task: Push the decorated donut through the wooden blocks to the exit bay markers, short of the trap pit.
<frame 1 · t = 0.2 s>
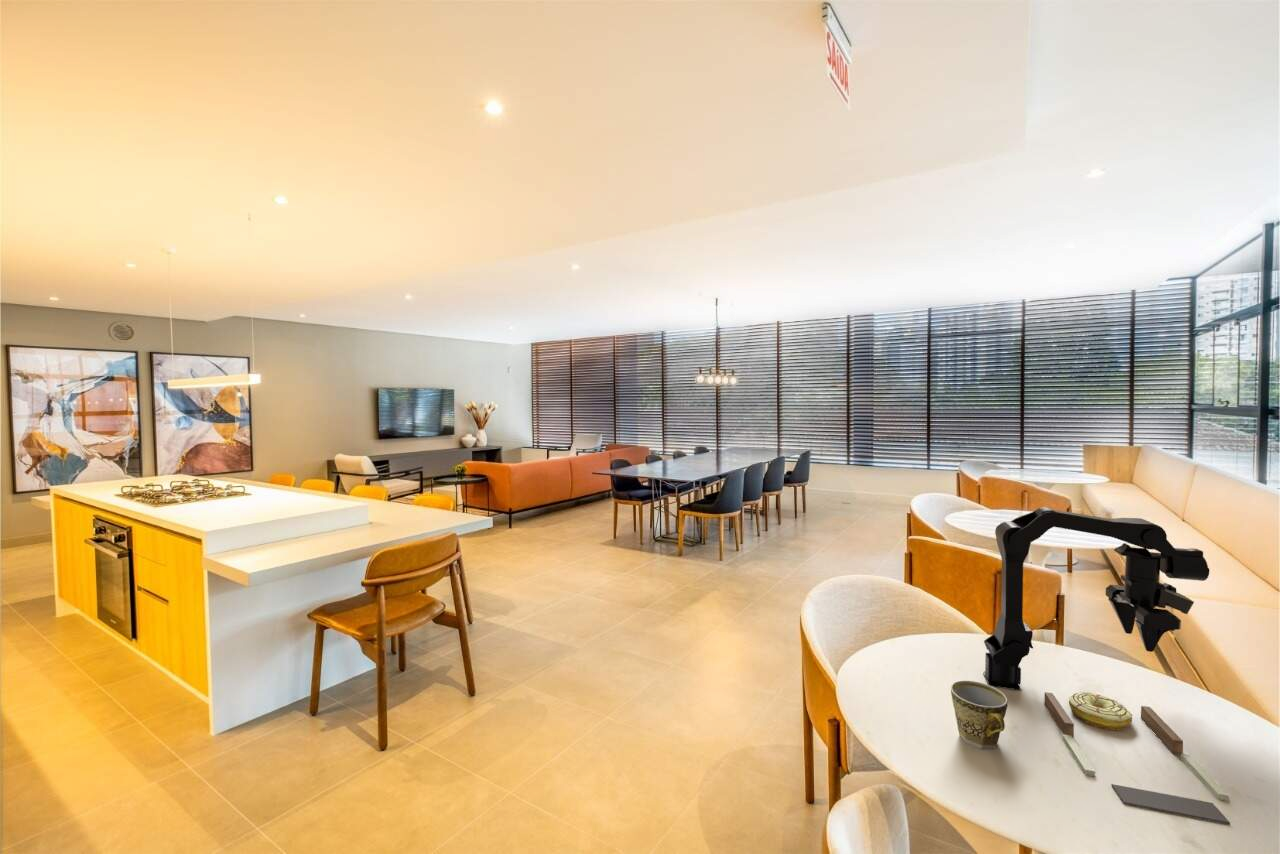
hand: (1138, 642, 122), 14 cm above the table, tool pointing down, fingers open, 9 cm apart
ceramic cup: (982, 745, 110), on the table
decorated donut: (1099, 719, 117), on the table
exit bay markers: (1138, 767, 102), on the table
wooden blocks: (1108, 728, 114), on the table
trap pit: (1167, 804, 93), on the table
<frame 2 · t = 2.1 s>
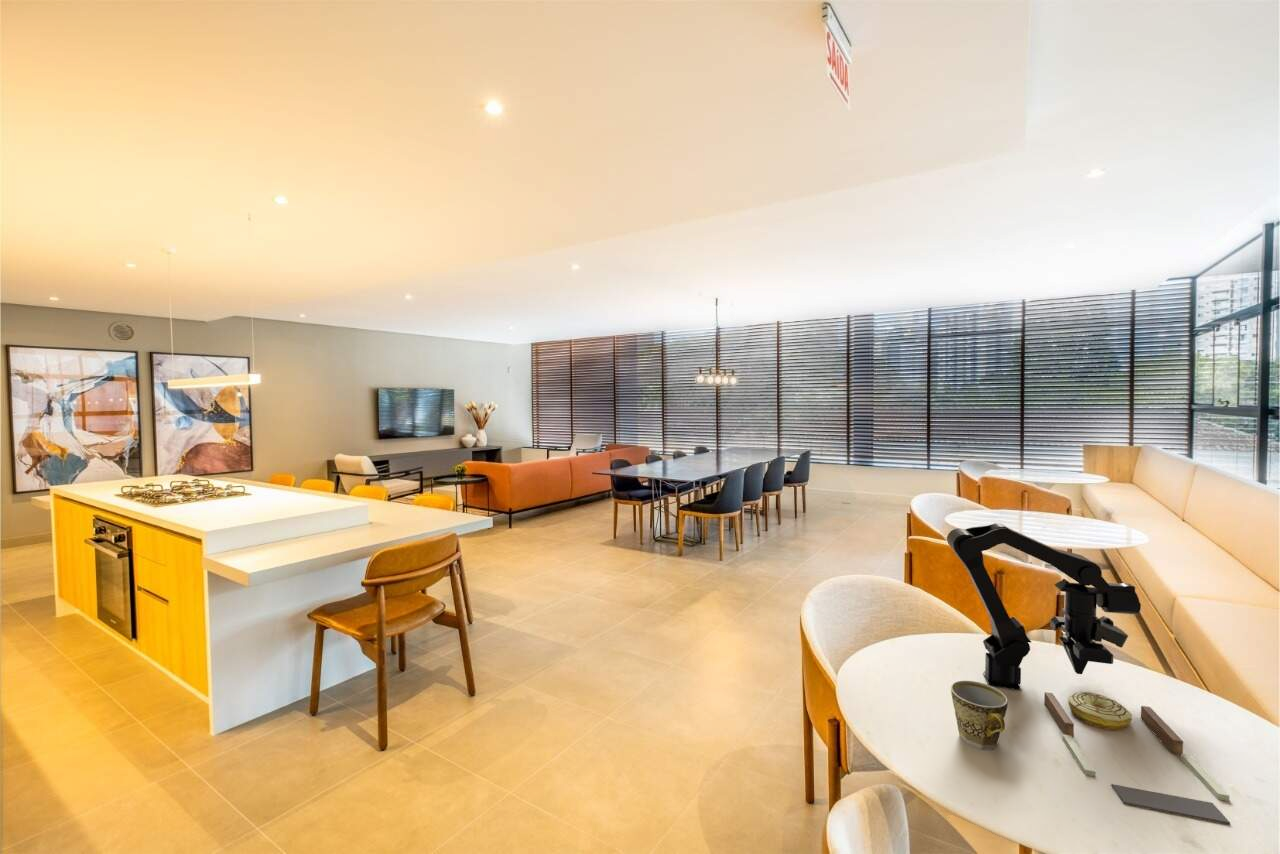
hand: (1078, 673, 127), 4 cm above the table, tool pointing down, fingers closed
nothing on the table moved.
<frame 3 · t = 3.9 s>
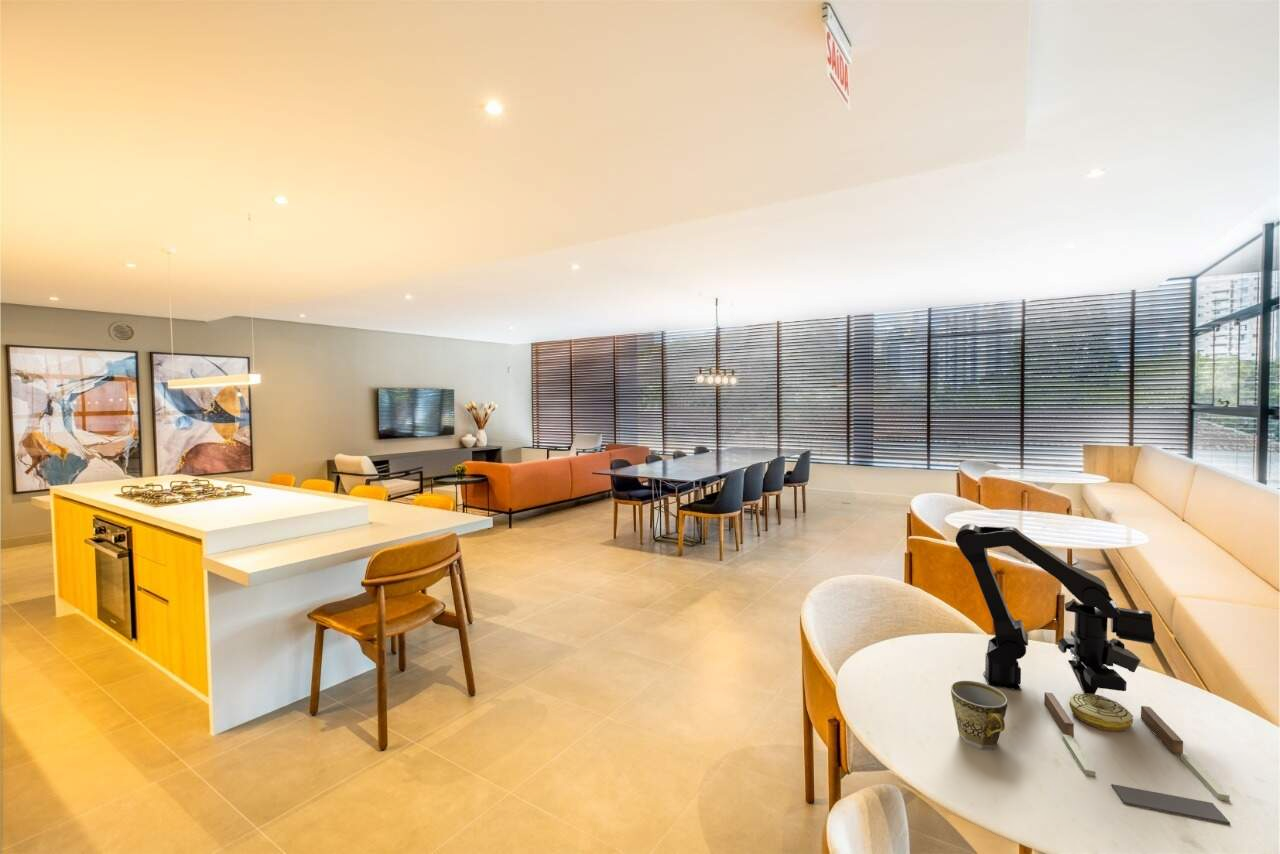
hand: (1088, 698, 123), 1 cm above the table, tool pointing down, fingers closed
nothing on the table moved.
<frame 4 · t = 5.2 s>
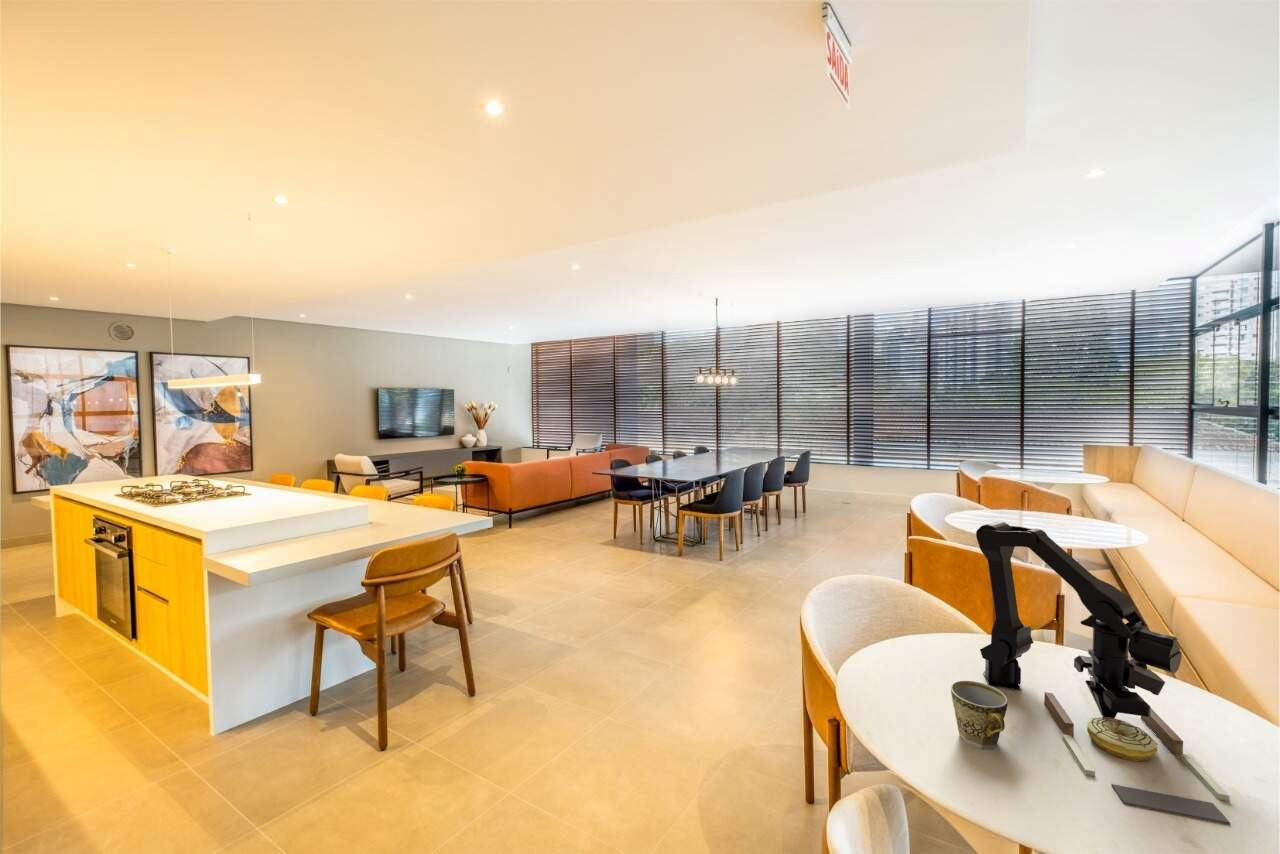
hand: (1108, 722, 114), 1 cm above the table, tool pointing down, fingers closed
decorated donut: (1120, 747, 108), on the table, touching gripper
everything else where it was.
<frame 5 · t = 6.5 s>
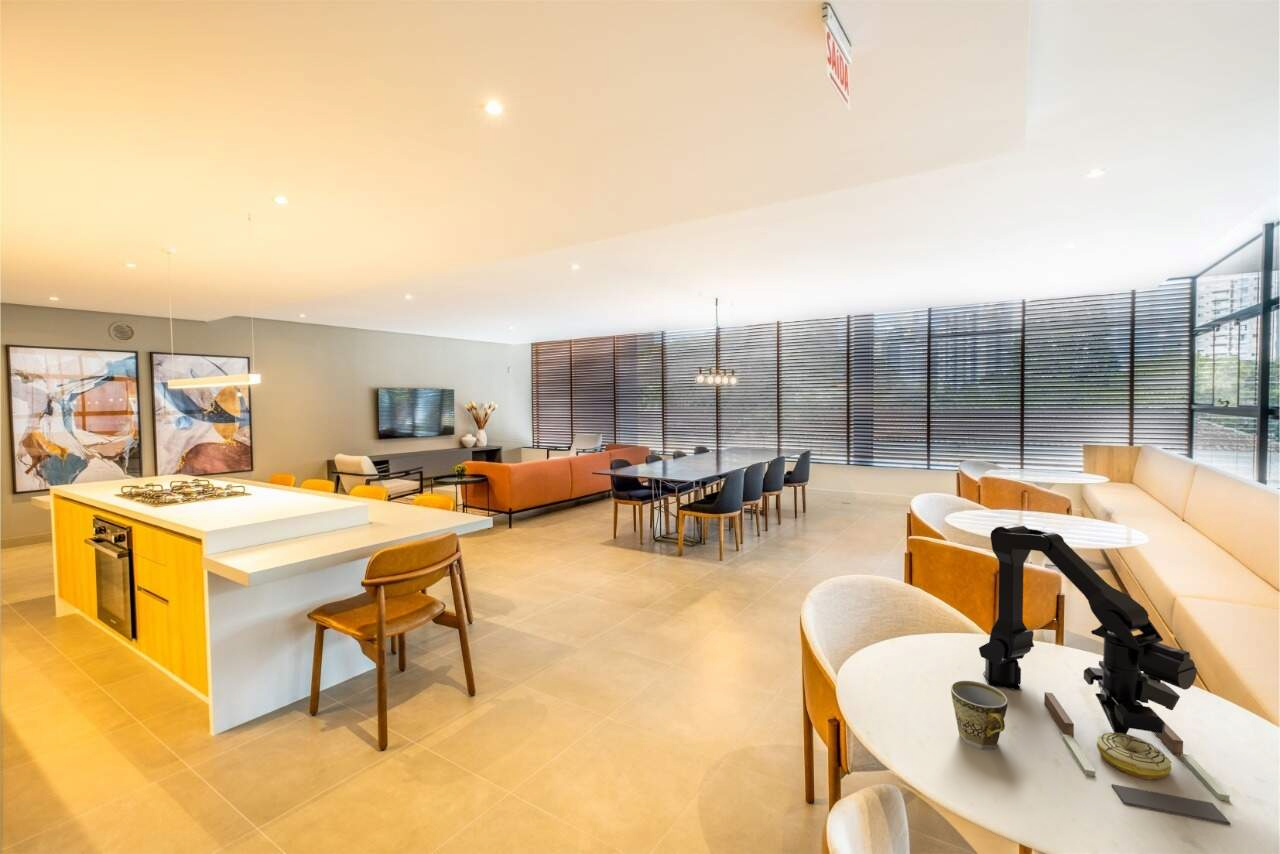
hand: (1119, 737, 109), 1 cm above the table, tool pointing down, fingers closed
decorated donut: (1132, 765, 103), on the table
everything else where it was.
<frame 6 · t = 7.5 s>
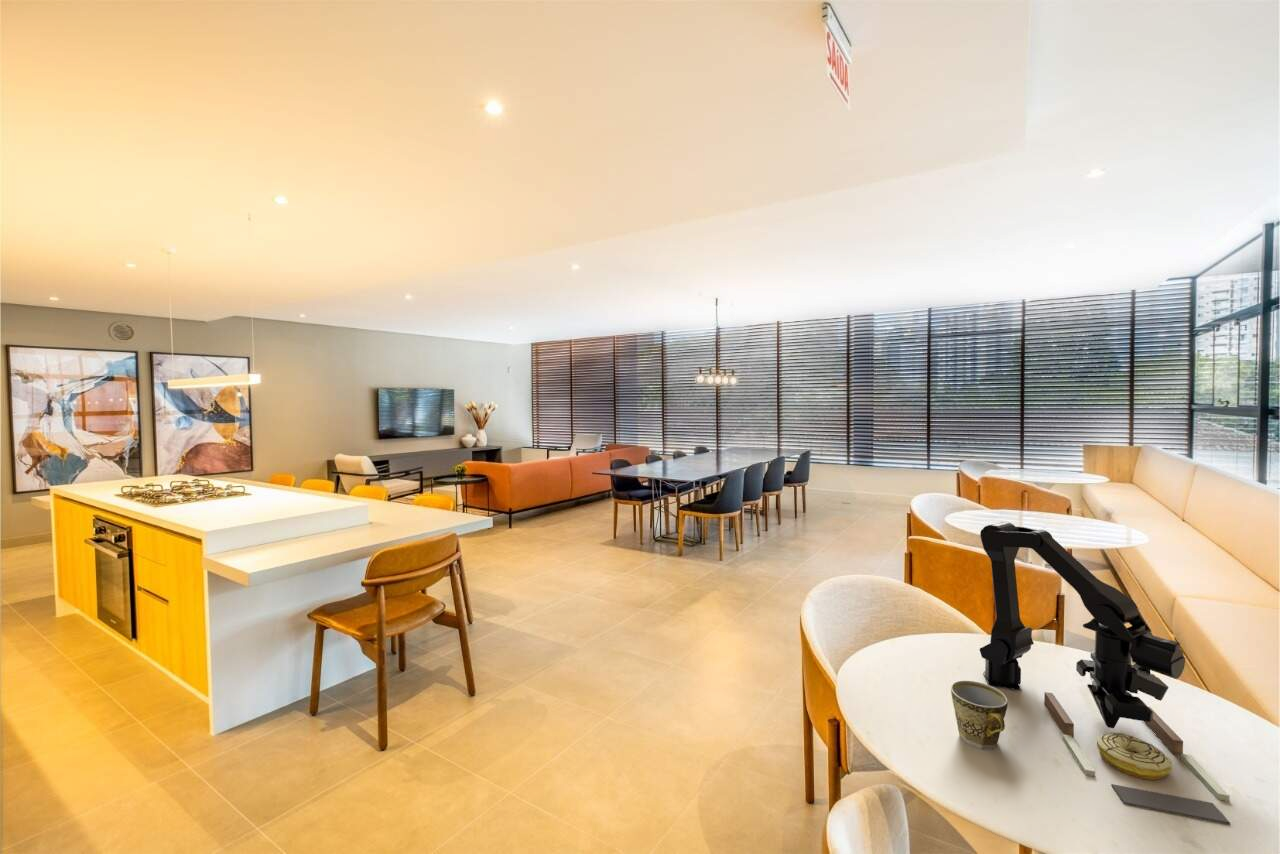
hand: (1109, 727, 112), 1 cm above the table, tool pointing down, fingers closed
nothing on the table moved.
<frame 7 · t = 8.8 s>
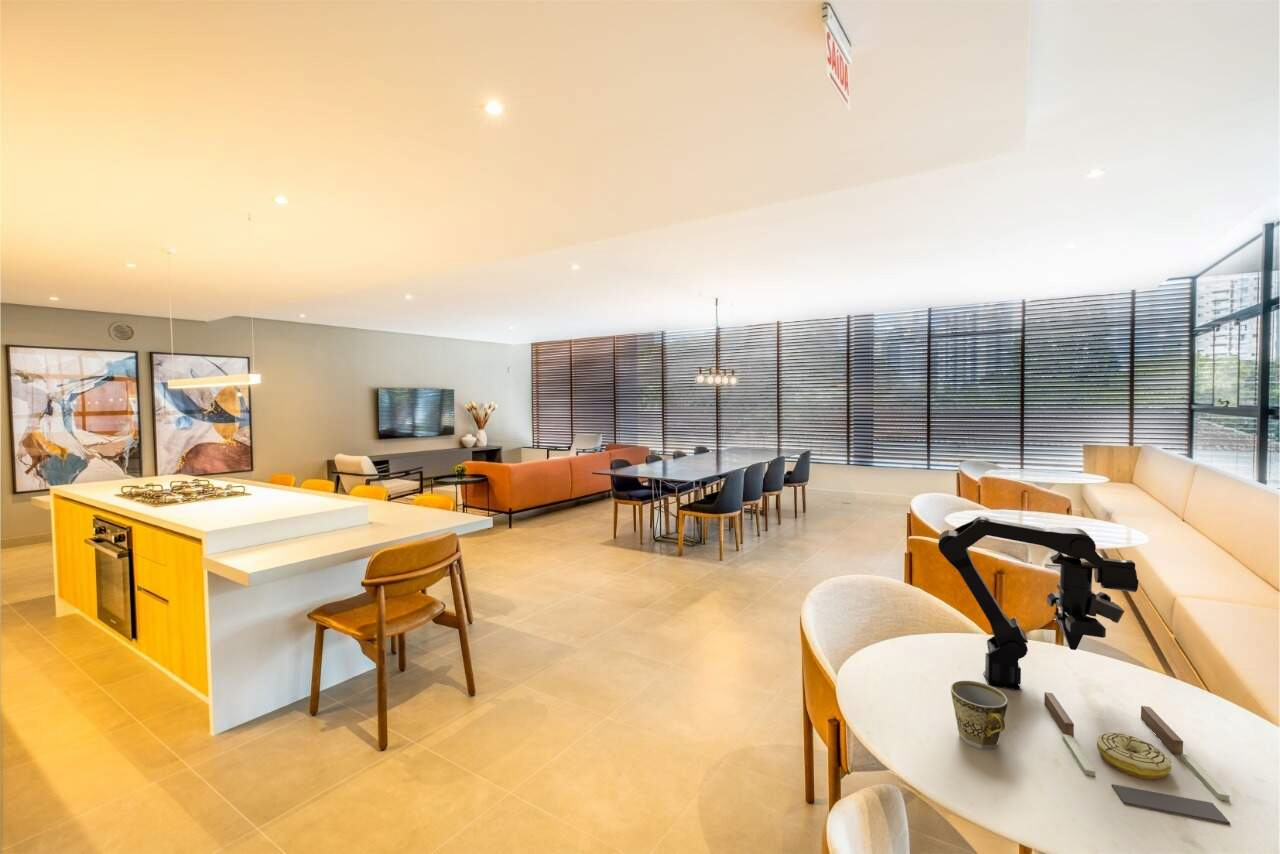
hand: (1072, 649, 125), 11 cm above the table, tool pointing down, fingers closed
nothing on the table moved.
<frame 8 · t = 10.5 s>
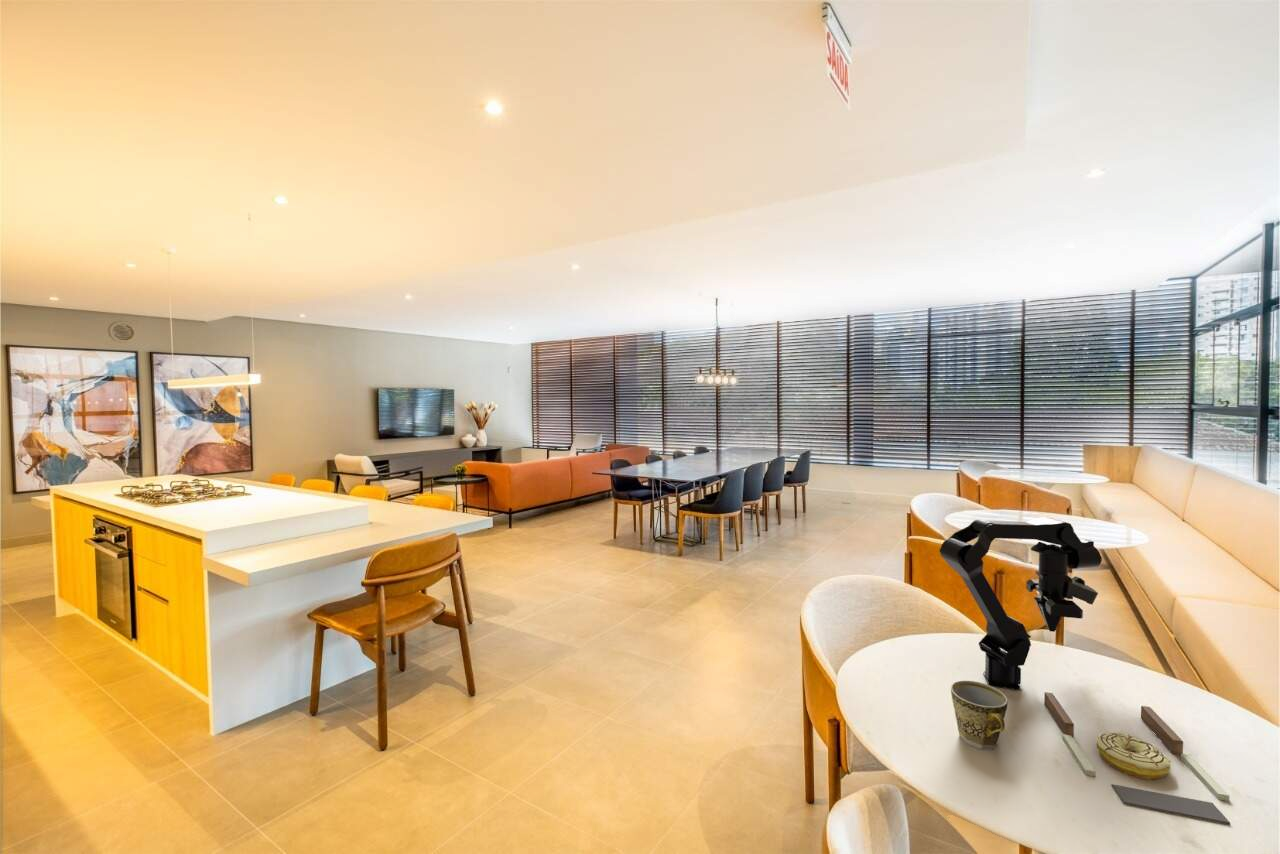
hand: (1051, 630, 133), 12 cm above the table, tool pointing down, fingers closed
nothing on the table moved.
at the end: decorated donut inside the target area (1.5 cm from its centre), on the table; decorated donut touching table; decorated donut moved 15.4 cm from its start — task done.
